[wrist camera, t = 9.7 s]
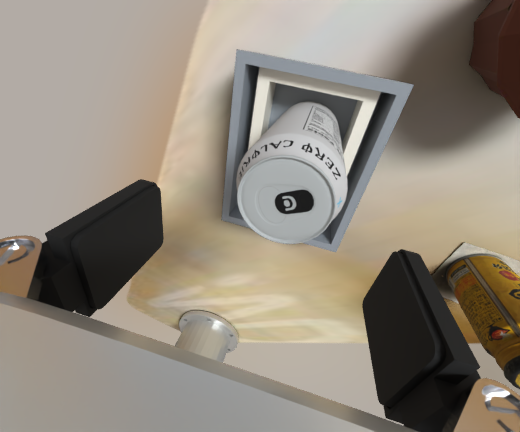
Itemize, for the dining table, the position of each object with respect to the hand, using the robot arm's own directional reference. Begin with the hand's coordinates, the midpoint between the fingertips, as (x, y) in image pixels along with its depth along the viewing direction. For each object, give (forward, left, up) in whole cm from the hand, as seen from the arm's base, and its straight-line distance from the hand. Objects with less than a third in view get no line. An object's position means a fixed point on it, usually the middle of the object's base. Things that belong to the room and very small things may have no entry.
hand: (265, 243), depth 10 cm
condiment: (-12, -24, -19) cm, 32 cm away
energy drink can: (0, 0, -18) cm, 18 cm away
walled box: (-2, 0, -19) cm, 19 cm away
